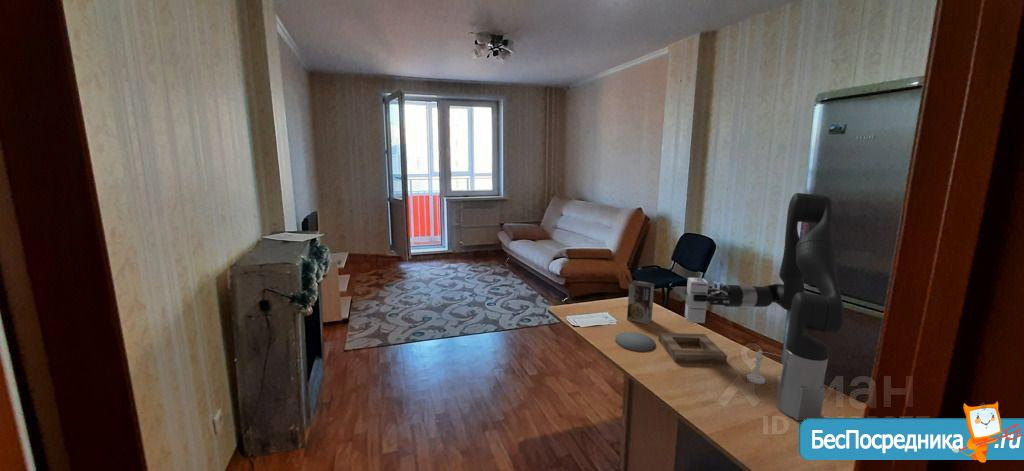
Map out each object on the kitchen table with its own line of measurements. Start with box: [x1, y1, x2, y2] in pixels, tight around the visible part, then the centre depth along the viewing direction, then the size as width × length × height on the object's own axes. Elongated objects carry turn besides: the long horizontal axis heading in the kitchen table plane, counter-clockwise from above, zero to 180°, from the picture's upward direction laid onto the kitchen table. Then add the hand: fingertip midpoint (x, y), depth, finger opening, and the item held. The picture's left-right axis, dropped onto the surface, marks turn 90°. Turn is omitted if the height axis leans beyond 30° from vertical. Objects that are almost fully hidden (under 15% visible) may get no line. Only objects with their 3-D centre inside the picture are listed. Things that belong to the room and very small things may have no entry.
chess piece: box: [746, 349, 766, 385], centre depth 127 cm, size 5×5×10 cm
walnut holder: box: [658, 332, 728, 365], centre depth 145 cm, size 17×17×3 cm
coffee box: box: [626, 280, 655, 325], centre depth 172 cm, size 9×6×16 cm
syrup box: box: [684, 277, 709, 324], centre depth 142 cm, size 6×6×14 cm
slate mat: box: [614, 331, 656, 352], centre depth 152 cm, size 14×14×1 cm
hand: (689, 294), depth 142 cm, fingers closed on syrup box, 6 cm apart
